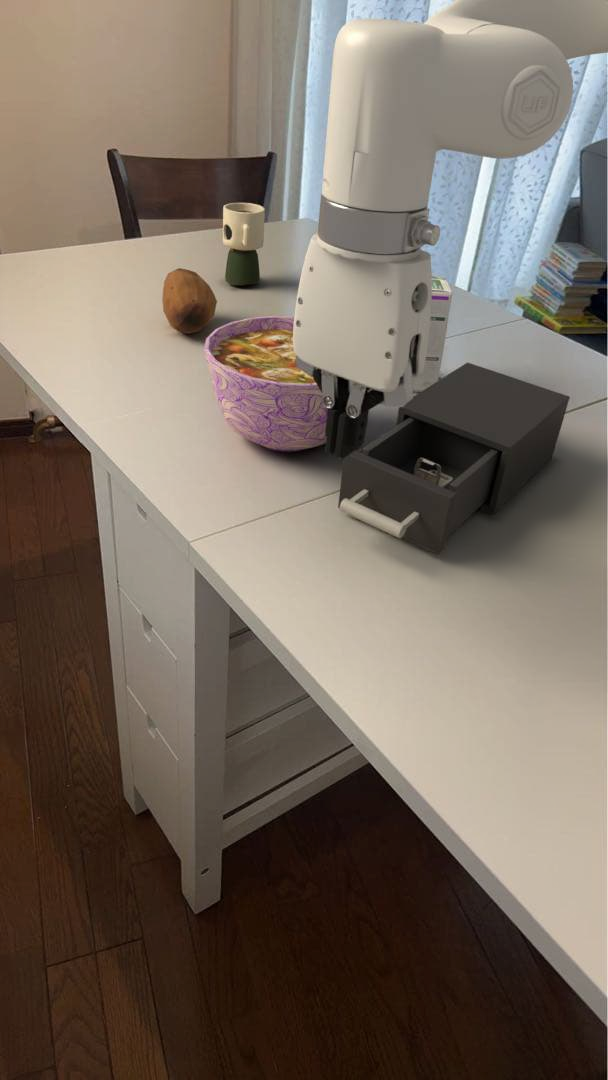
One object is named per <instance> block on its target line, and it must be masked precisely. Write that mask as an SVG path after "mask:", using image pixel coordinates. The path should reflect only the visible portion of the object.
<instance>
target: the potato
mask: <svg viewBox="0 0 608 1080" xmlns="http://www.w3.org/2000/svg"><path fill="white" fill-rule="evenodd" d="M217 303H218V301H217V298H216V295H215V293H214V291H213V289H212V288H211V286H210V285H209V283H207V282H206V281H205V279H204V278H202V277H201V276H200V275H199V274H198V273H197V272H195V271H193V270H190V269H187V268H177V269H174V270H172V271H170V272H168V273H167V274H166V277H165V280H164V282H163V288H162V309H163V313H164V315H165V318H166V319H167V322H168V324H169V325H170V327H171V328H173V329H174V330H175V331H177V332H179V333H182V334H187V335H188V334H192V333H196V332H200V331H201V329H204V327H206V326H207V325H208V324H209V323H210V322H211V320H212V319H213V317H214V316H215V313H216V308H217Z"/></svg>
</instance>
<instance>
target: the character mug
mask: <svg viewBox="0 0 608 1080" xmlns="http://www.w3.org/2000/svg"><path fill="white" fill-rule="evenodd" d="M265 215H266V209H265V207H264V206H262V205H260V204H257V203H251V202H231V203H227V204H224V205H223V208H222V244H223V245H224V246H226V247H227V248H229V251H228V253H227V260H226V264H225V265H226V266H225V274H224V275H225V277H224V279H225V283H227V284H229V285H233V286H242V287H245V286H246V285H254V284H259V283H260V282H261V274H260V273H261V272H260V263H259V255H258V251H257V250H259V249H262V248H263V246H264V243H265V242H264V241H265V217H266V216H265Z"/></svg>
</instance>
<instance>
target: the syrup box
mask: <svg viewBox="0 0 608 1080" xmlns="http://www.w3.org/2000/svg"><path fill="white" fill-rule="evenodd" d="M452 297H453V291H452V289H451V286H450V285H449V282H448V280H447V278H444V277H439V276H432V301H431V317H430V328H429V338H428V346H427V354H426V360H425V365H424V369H423V372H422V374H421V375H420V376H418V377H415V378H412V382H413V393H415V392H417V393H420V392H422V391H423V390H425V389H426V388H428V387H429V386H431V385H433V384H434V383H436V382H437V381H439V378H440V372H441V366H442V360H443V354H444V349H445V341H446V337H447V330H448V329H447V328H448V323H449V317H450V311H451V310H450V309H451V304H452Z"/></svg>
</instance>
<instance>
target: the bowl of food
mask: <svg viewBox="0 0 608 1080" xmlns="http://www.w3.org/2000/svg"><path fill="white" fill-rule="evenodd" d="M293 326H294V316H284V315H283V316H282V315H281V316H280V315H271V316H270V315H269V316H256V317H249V318H245V319H244V318H243V319H240V320H234V321H231V322H229V323H226V324H224V325H222V326H219V327H218V328H215V329H214V331H212V332H211V333H210V334H209V335H208V336H207V337H205V344H204V354H205V358H206V363H207V367H208V369H209V370H208V371H209V375H210V380H211V381H212V382H211V383H212V387H213V390H214V394H215V399H216V402H217V404H218V408H219V412H220V413H221V414H222V417H223V418H224V420H225V421H226V422H227V424H228V425H229V426H230V428H231V429H232V430H233V431H234V432H235V433H237V435H239V436H241V437H242V438H243V439H244V440H248V441H250V442H252V443H254V444H257V445H260V446H262V447H265V448H266V449H269V450H273V451H278V452H290V453H291V452H293V453H294V452H299V451H300V452H301V451H303V450H306V449H312V448H315V447H319V446H322V445H326V440H327V437H326V435H325V431H326V422H327V412H328V408H326V407H325V406H324V405H323V402H322V392H321V391H320V389H319V387H318V386H317V384H316V382H315V380H314V378H313V377H310V376H309V375H308V374H306V373H305V372H303V371H302V370H300V369H299V368H298V367H297V366H296V365H295V358H296V354H295V352H294V348H293Z"/></svg>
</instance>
